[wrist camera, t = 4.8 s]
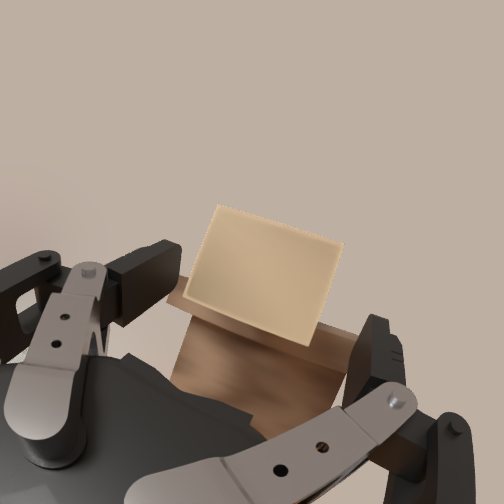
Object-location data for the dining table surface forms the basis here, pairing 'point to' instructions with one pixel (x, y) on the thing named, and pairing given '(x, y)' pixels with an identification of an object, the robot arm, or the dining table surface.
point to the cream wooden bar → (264, 273)
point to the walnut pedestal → (259, 367)
